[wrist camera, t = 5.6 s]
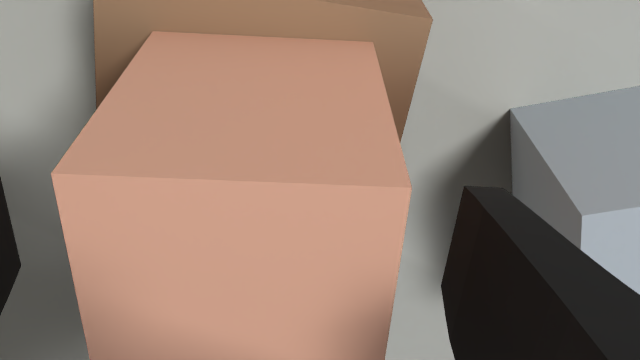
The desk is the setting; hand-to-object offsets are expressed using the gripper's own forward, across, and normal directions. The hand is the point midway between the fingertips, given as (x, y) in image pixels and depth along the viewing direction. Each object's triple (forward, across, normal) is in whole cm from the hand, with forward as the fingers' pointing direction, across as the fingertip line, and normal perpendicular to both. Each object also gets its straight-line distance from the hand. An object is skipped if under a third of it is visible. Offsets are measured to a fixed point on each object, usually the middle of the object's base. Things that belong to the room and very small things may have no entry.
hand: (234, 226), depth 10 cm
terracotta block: (+3, 0, 0) cm, 3 cm away
